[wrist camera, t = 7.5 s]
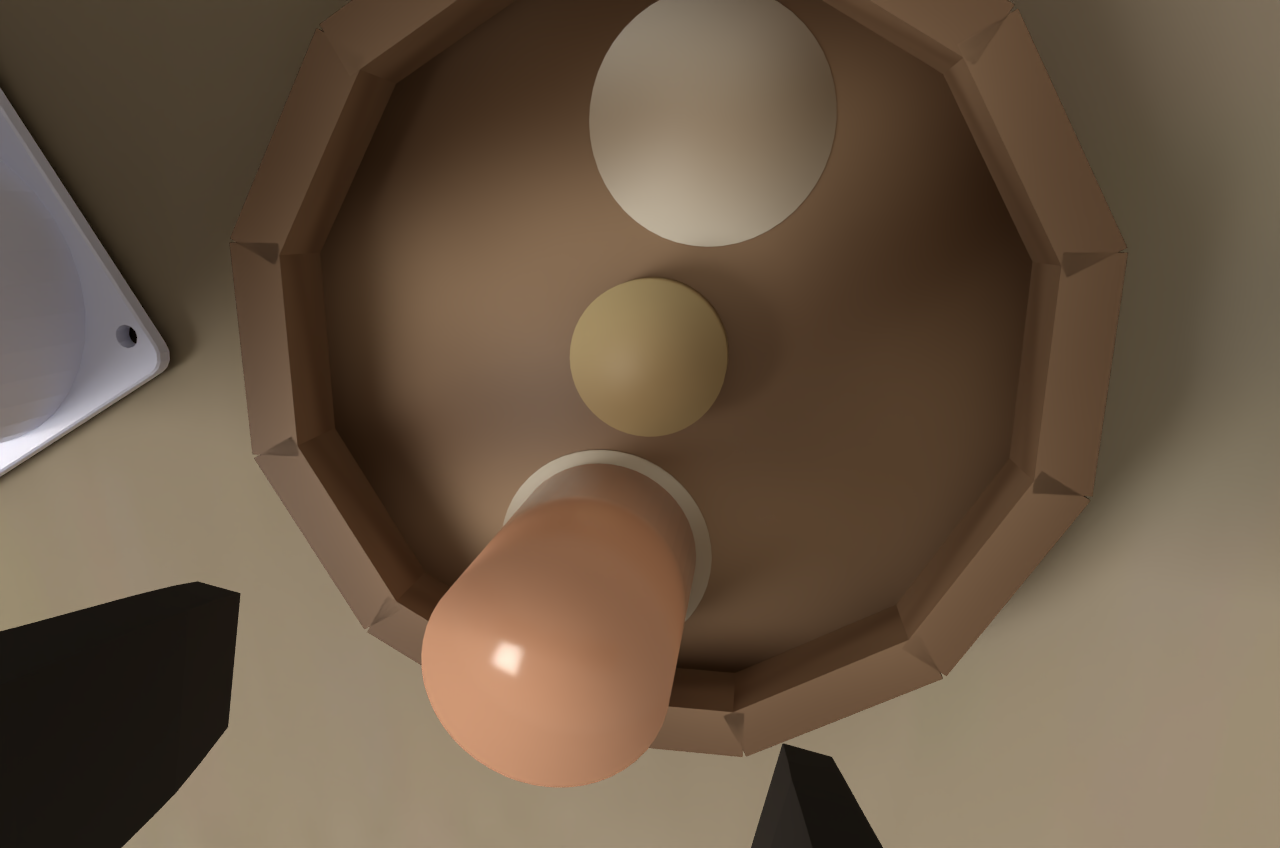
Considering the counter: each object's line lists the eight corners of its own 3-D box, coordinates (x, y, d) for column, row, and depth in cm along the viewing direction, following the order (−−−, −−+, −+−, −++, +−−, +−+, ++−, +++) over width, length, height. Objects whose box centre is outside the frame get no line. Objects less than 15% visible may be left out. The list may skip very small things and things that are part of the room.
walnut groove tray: (174, 201, 18) (85, 197, 16) (833, -267, 14) (847, -366, 12) (537, 777, 20) (507, 851, 18) (1192, 503, 17) (1265, 550, 14)
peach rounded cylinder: (498, 608, 18) (403, 745, 13) (532, 441, 17) (443, 525, 12) (670, 658, 18) (637, 817, 13) (716, 491, 17) (698, 597, 12)
